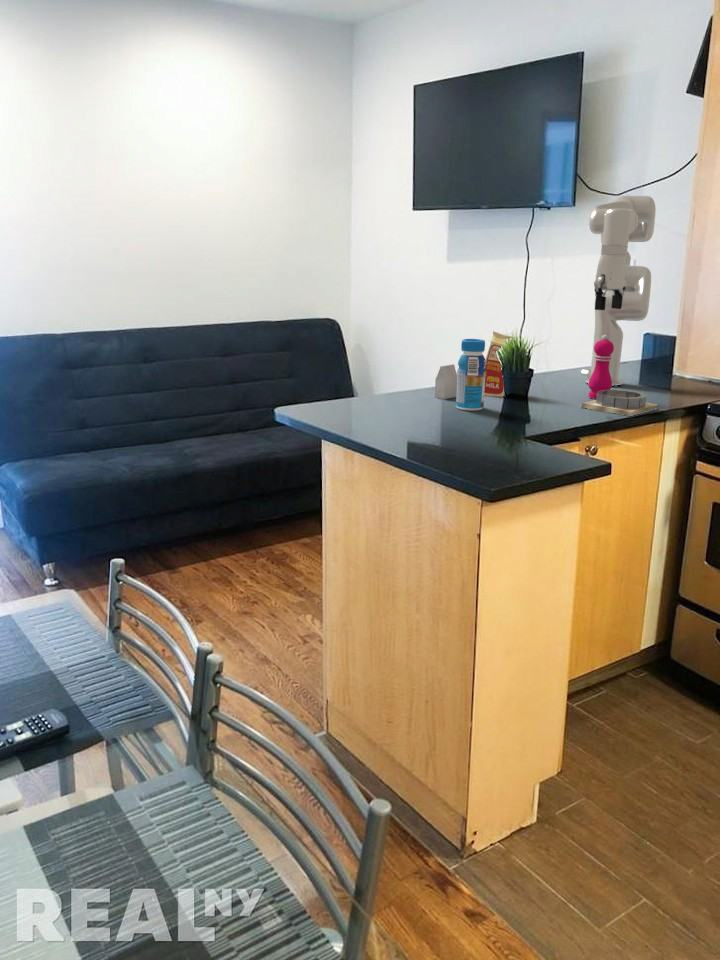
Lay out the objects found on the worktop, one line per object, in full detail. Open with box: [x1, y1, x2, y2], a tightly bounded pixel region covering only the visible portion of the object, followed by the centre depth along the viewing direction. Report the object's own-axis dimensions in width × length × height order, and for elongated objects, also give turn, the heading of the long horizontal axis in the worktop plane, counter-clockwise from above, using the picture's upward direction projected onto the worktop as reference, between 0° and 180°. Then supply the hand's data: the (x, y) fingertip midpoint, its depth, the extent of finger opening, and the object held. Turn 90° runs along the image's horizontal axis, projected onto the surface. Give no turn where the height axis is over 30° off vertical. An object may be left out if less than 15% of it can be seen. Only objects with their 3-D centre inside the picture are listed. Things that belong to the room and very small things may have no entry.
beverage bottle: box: [455, 338, 486, 412], centre depth 237 cm, size 8×8×20 cm
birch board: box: [581, 399, 659, 416], centre depth 243 cm, size 16×16×2 cm
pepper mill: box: [587, 335, 614, 400], centre depth 256 cm, size 7×7×20 cm
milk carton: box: [484, 330, 516, 398], centre depth 260 cm, size 9×9×20 cm
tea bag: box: [434, 364, 457, 400], centre depth 255 cm, size 4×7×10 cm, turn 137°
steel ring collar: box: [596, 389, 647, 409], centre depth 242 cm, size 14×14×3 cm
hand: (608, 309), depth 251 cm, fingers open, 9 cm apart
